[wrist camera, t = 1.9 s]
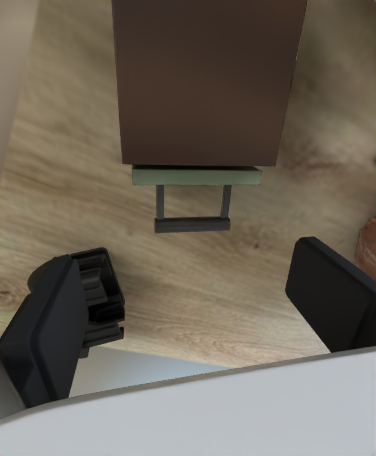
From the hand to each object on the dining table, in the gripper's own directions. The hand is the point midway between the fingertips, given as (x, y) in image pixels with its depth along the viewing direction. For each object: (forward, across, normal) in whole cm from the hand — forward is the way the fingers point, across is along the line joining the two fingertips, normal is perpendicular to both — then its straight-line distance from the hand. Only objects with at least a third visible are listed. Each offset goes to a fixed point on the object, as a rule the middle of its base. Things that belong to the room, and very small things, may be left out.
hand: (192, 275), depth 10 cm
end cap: (+18, +10, +13) cm, 24 cm away
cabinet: (+18, -3, -10) cm, 21 cm away
